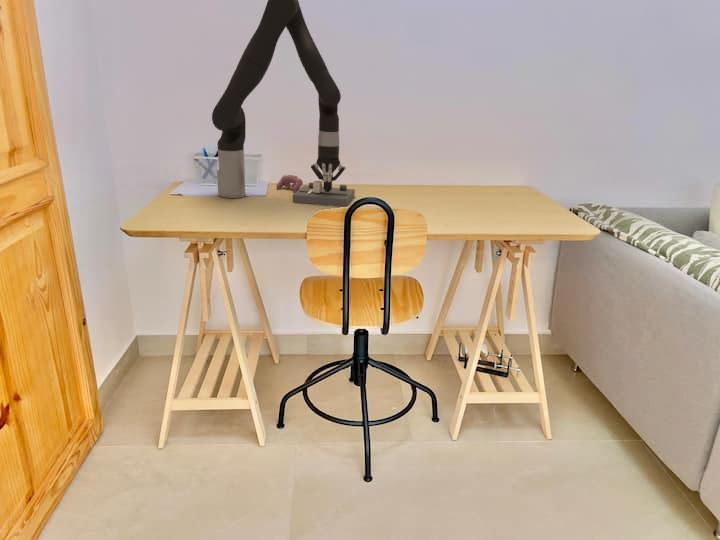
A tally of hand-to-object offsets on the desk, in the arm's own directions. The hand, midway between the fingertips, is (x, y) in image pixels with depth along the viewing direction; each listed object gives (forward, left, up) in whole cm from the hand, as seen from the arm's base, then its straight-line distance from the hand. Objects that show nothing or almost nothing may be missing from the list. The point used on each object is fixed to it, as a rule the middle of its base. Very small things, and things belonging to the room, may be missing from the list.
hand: (327, 191), depth 203 cm
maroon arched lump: (-18, +12, -4) cm, 22 cm away
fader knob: (-4, 0, 0) cm, 4 cm away
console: (-2, +2, -4) cm, 4 cm away
